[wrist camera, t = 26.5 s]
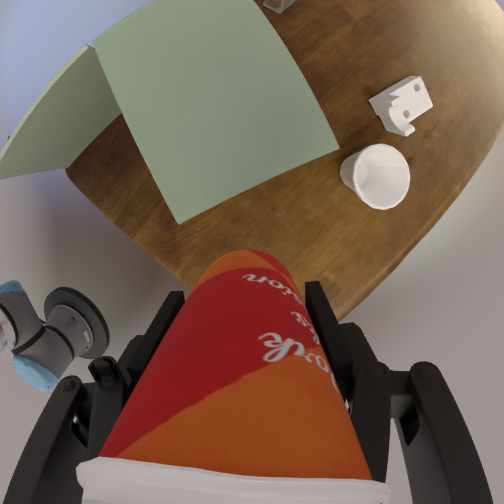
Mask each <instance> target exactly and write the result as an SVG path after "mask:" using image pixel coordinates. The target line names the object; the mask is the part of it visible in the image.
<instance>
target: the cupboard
mask: <svg viewBox="0 0 504 504" xmlns="http://www.w3.org/2000/svg"><path fill="white" fill-rule="evenodd" d="M92 43H93V45H94V48H95V51H96V53H97V56H98V58H99V61H100V63H101V66H102V68H103V71H104V73H105V75H106V78H107V80H108V82H109V85H110V87H111V89H112V92H113V94H114V96H115V99H116V101H117V103H118V105H119V107H120V110H121V112H122V114H123V116H124V118H125V121H126V123H127V125H128V127H129V129H130V131H131V133H132V136H133V138H134V140H135V142H136V144H137V146H138V148H139V150H140V152H141V154H142V156H143V158H144V160H145V162H146V164H147V166H148V168H149V170H150V172H151V174H152V176H153V178H154V180H155V182H156V184H157V186H158V188H159V190H160V192H161V194H162V196H163V197H164V199H165V201H166V203H167V205H168V207H169V209H170V211H171V212H172V214H173V216H174V218H175V220H176V222H177V224H178V225H179V224H181V223H183V222H185V221H187V220H188V219H190V218H192V217H194V216H196V215H198V214H200V213H202V212H204V211H206V210H208V209H210V208H211V207H213V206H215V205H217V204H219V203H221V202H223V201H225V200H227V199H229V198H231V197H233V196H235V195H237V194H240V193H242V192H244V191H246V190H248V189H250V188H252V187H254V186H256V185H258V184H260V183H263V182H265V181H267V180H269V179H271V178H273V177H275V176H278V175H280V174H282V173H284V172H286V171H289V170H291V169H293V168H295V167H298V166H300V165H302V164H304V163H307V162H309V161H311V160H314V159H316V158H318V157H321V156H323V155H325V154H328V153H330V152H333V151H335V150H338V149H339V148H340V147H339V145H338V143H337V141H336V139H335V136H334V134H333V132H332V130H331V128H330V126H329V124H328V122H327V120H326V117H325V115H324V113H323V111H322V109H321V107H320V106H319V104H318V102H317V100H316V98H315V96H314V94H313V92H312V90H311V89H310V87H309V85H308V83H307V81H306V80H305V78H304V76H303V74H302V72H301V71H300V69H299V67H298V66H297V64H296V62H295V61H294V59H293V57H292V56H291V54H290V52H289V51H288V49H287V48H286V46H285V45H284V43H283V41H282V40H281V38H280V37H279V35H278V34H277V32H276V31H275V29H274V28H273V26H272V25H271V24H270V22H269V21H268V19H267V18H266V17H265V15H264V14H263V12H262V11H261V10H260V8H259V7H258V6H257V4H256V3H255V2H254V0H154V1H152V2H150V3H149V4H147V5H145V6H143V7H142V8H140V9H138V10H137V11H135V12H133V13H132V14H130V15H129V16H127V17H125V18H124V19H122V20H121V21H119V22H118V23H116V24H115V25H113V26H112V27H111V28H109V29H108V30H107V31H105V32H104V33H102V34H101V35H100V36H98V37H97V38H96V39H94V40H93V41H92Z"/></svg>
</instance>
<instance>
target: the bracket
mask: <svg viewBox="0 0 504 504" xmlns="http://www.w3.org/2000/svg"><path fill="white" fill-rule="evenodd" d="M369 102H370V104H371V106H372V108H373V110H374V111H375V113H376V115H378V116H379V117H380V119H381V121H382V123H383V125H384V127H385V129H386V131H389V132H392V133H396V134H399V135H403V136H408V135H409V134H411V133H412V132H414V131H415V128H414V126H412V125H410V124H409V122H411V121H412V120H413V119H415V118H416V117H418V116H419V115H421V114H422V113H424V112H425V111H427V110H428V109H430V108H431V107H433V105H432V102H431V100H430V97H429V95H428V92H427V90H426V88H425V86H424V83H423V81H422V79H421V77H420V76H409V77H407V78H405V79H403V80H401V81H400V82H398V83H396V84H394V85H393V86H391V87H389V88H388V89H386V90H384V91H382V92H381V93H379V94H377V95H376V96H374V97H372V98H371V99H369Z"/></svg>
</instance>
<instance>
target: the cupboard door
mask: <svg viewBox="0 0 504 504" xmlns="http://www.w3.org/2000/svg"><path fill="white" fill-rule="evenodd" d="M121 113H122V112H121V110H120V107H119V105H118V103H117V101H116V99H115V96H114V94H113V92H112V89H111V87H110V85H109V82H108V80H107V78H106V75H105V73H104V71H103V68H102V66H101V63H100V61H99V58H98V56H97V53H96V51H95V48H93V47H91V46H89V45H88V44H85V45H84V46H83V47H82V49H80V50H79V51H78V52H77V53H76V54H75V55H74V56H73V57H72V58H71V59H70V60H69V61H68V63H66V64H65V65H64V66H63V68H62V69H61V70H60V71H59V72H58V73H57V74H56V75H55V76H54V78H53V79H52V80H51V81H50V83H49V84H48V85H47V86H46V87H45V88H44V90H43V91H42V92H41V93H40V95H39V96H38V97H37V99H36V100H35V101H34V103H33V104H32V105H31V107H30V108H29V109H28V111H27V112H26V113H25V115H24V116H23V118H22V119H21V121H20V122H19V124H18V125H17V127H16V128H15V130H14V131H13V133H12V135H11V136H9V137H8V140H7V143H6V145H5V147H4V148H3V150H2V152H1V153H0V180H1V179H5V178H10V177H14V176H20V175H25V174H30V173H36V172H42V171H49V170H55V169H62V168H69V166H70V165H71V164H72V163H73V162H74V161H75V159H76V158H77V157H78V156H79V155H80V154H81V153H82V152H83V151H84V150H85V148H86V147H87V146H88V145H89V144H90V143H91V142H92V141H93V140H94V139H95V138H96V137H97V136H98V135H99V134H100V133H101V132H102V131H103V130H104V129H105V128H106V127H107V126H108V125H109V124H110V123H111V122H112V121H113V120H115V119H116V118H117V117H118V116H119V115H120V114H121Z"/></svg>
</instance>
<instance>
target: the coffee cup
mask: <svg viewBox="0 0 504 504" xmlns="http://www.w3.org/2000/svg"><path fill="white" fill-rule="evenodd" d="M76 474H77V480H78V482H79V484H80V485H81V487H82V488H83V489H84V491H83V497H82V504H380V503H382V504H388V503H389V500H390V496H391V488H390V487H389V486H387V485H386V484H385V483H381V482H377V481H373V480H372V477H371V474H370V471H369V468H368V465H367V463H366V460H365V457H364V454H363V452H362V449H361V446H360V443H359V441H358V438H357V435H356V433H355V430H354V427H353V425H352V422H351V419H350V416H349V414H348V411H347V408H346V406H345V403H344V401H343V398H342V396H341V393H340V390H339V388H338V385H337V383H336V380H335V378H334V375H333V373H332V370H331V368H330V365H329V363H328V360H327V358H326V355H325V353H324V350H323V348H322V345H321V343H320V340H319V338H318V336H317V333H316V331H315V328H314V326H313V324H312V321H311V319H310V317H309V314H308V312H307V310H306V307H305V305H304V303H303V300H302V298H301V296H300V294H299V291H298V289H297V287H296V285H295V283H294V281H293V279H292V277H291V275H290V274H289V272H288V271H287V269H286V268H285V267H284V266H283V265H282V264H281V263H280V262H279V261H278V260H277V259H275V258H274V257H272V256H271V255H269V254H266V253H264V252H261V251H256V250H236V251H232V252H229V253H227V254H224V255H222V256H221V257H219V258H218V259H216V260H215V261H214V262H213V263H212V264H211V265H210V266H209V267H208V268H207V269H206V271H205V272H204V273H203V275H202V276H201V278H200V279H199V281H198V282H197V284H196V285H195V287H194V288H193V290H192V292H191V293H190V295H189V296H188V298H187V300H186V301H185V303H184V304H183V306H182V308H181V309H180V311H179V313H178V314H177V316H176V318H175V319H174V321H173V323H172V324H171V326H170V328H169V329H168V331H167V333H166V334H165V336H164V338H163V340H162V341H161V343H160V345H159V346H158V348H157V350H156V352H155V353H154V355H153V357H152V358H151V360H150V362H149V364H148V365H147V367H146V369H145V371H144V373H143V374H142V376H141V378H140V380H139V381H138V383H137V385H136V387H135V389H134V390H133V392H132V394H131V396H130V398H129V399H128V401H127V403H126V405H125V407H124V408H123V410H122V412H121V414H120V416H119V418H118V420H117V421H116V423H115V425H114V427H113V429H112V431H111V433H110V434H109V436H108V438H107V440H106V442H105V444H104V446H103V448H102V450H101V452H100V454H99V456H98V457H97V458H95V459H92V460H89V461H86V462H82V463H80V464H79V465H78V466H77V468H76Z"/></svg>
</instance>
